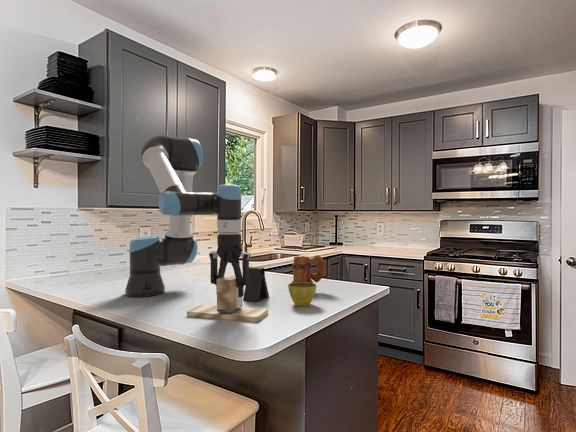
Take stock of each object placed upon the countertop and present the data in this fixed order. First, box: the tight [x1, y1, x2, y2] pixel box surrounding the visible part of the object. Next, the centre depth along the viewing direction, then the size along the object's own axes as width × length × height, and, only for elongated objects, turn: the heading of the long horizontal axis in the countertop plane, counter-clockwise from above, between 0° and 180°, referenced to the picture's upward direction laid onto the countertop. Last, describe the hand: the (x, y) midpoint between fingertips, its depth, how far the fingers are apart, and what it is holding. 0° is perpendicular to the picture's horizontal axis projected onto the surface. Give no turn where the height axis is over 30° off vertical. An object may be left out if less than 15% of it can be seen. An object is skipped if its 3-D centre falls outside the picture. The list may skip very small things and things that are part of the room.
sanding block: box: [216, 274, 243, 313], centre depth 113 cm, size 5×8×10 cm, turn 164°
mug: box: [290, 254, 326, 283], centre depth 148 cm, size 15×8×15 cm, turn 68°
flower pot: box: [287, 282, 317, 307], centre depth 126 cm, size 10×10×7 cm
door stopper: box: [242, 266, 270, 303], centre depth 135 cm, size 9×6×12 cm, turn 152°
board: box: [186, 304, 269, 323], centre depth 114 cm, size 24×9×2 cm, turn 74°
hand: (230, 306), depth 113 cm, fingers closed on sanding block, 5 cm apart
